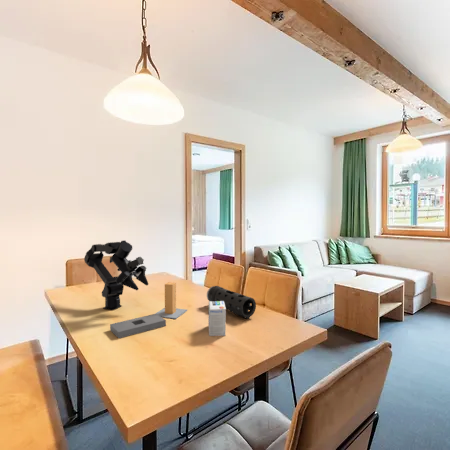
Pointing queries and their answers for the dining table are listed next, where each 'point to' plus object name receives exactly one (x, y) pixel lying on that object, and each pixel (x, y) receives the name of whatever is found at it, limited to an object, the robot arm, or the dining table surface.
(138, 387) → the dining table surface
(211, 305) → the light bulb box
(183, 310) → the mat
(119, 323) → the grey square-hole plate
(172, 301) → the plug
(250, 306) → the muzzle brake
